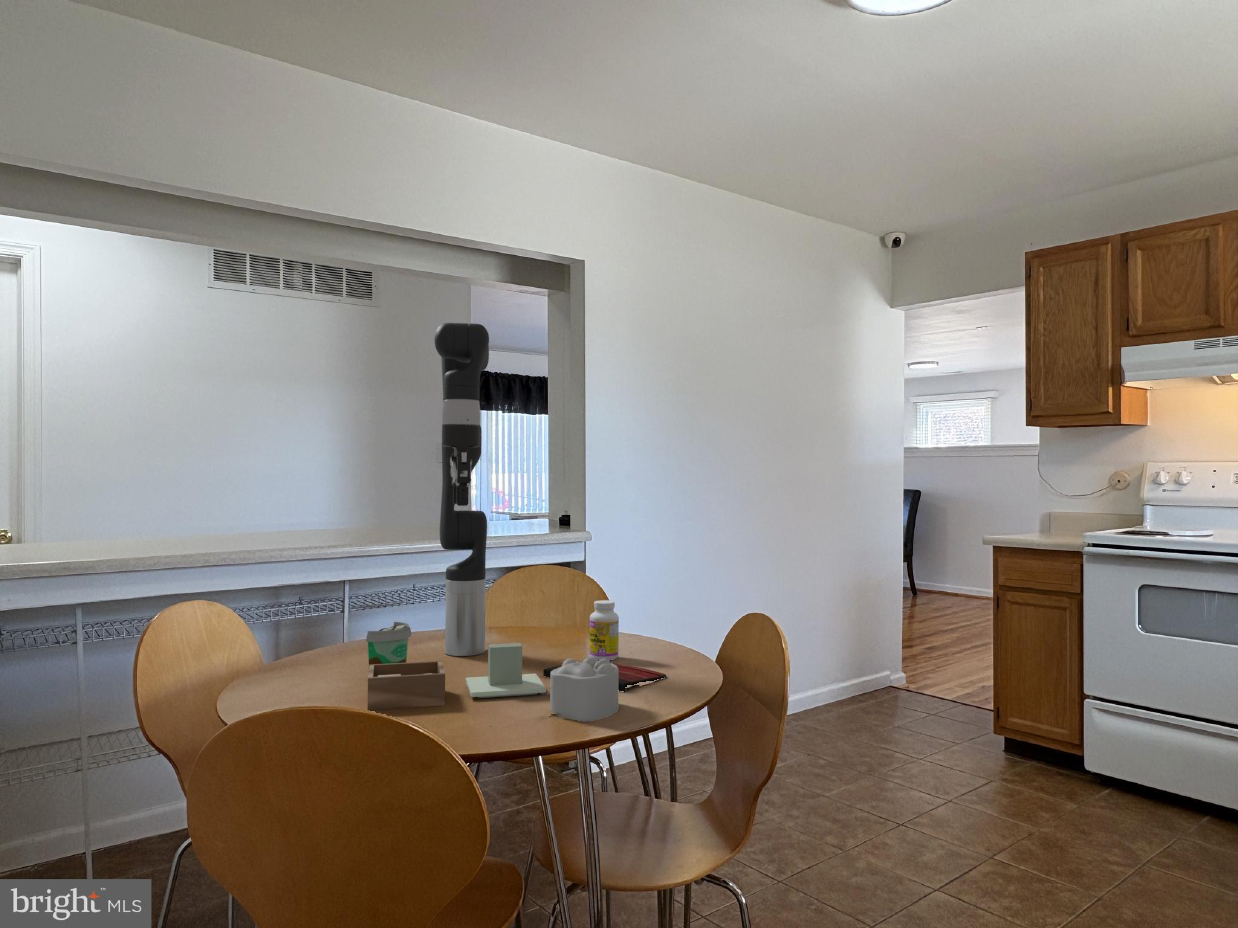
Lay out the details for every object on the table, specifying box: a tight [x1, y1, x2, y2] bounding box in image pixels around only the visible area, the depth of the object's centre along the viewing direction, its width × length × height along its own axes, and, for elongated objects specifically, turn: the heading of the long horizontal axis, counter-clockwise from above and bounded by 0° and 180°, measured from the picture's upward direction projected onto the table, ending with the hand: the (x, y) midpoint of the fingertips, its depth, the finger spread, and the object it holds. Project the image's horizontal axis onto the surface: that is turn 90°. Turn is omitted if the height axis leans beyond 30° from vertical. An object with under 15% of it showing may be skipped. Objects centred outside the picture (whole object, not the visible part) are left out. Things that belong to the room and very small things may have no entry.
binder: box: [542, 662, 667, 693], centre depth 167 cm, size 16×2×21 cm
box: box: [367, 660, 446, 711], centre depth 146 cm, size 11×13×6 cm
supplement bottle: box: [588, 599, 620, 660], centre depth 185 cm, size 7×7×13 cm
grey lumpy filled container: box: [549, 656, 619, 723], centre depth 143 cm, size 10×13×9 cm
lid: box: [465, 642, 547, 699], centre depth 153 cm, size 12×14×9 cm
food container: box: [365, 621, 412, 667], centre depth 168 cm, size 12×6×10 cm, turn 168°
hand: (460, 504), depth 161 cm, fingers open, 8 cm apart
